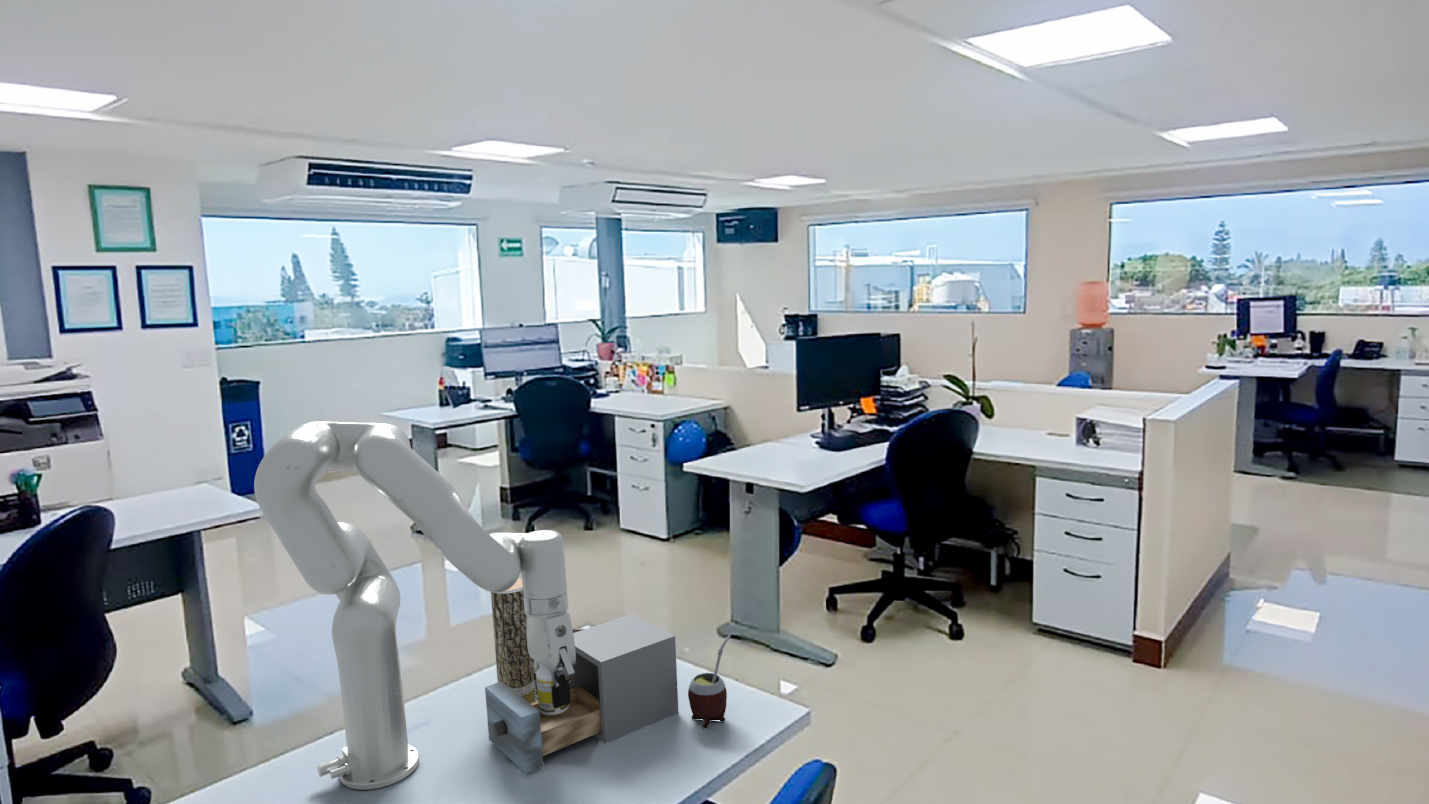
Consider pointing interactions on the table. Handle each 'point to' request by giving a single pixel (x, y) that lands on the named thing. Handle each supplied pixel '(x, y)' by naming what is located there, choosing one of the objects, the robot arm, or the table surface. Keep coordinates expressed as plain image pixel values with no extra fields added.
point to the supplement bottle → (547, 691)
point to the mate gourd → (708, 694)
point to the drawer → (537, 724)
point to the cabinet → (627, 673)
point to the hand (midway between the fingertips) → (553, 698)
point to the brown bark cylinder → (512, 641)
